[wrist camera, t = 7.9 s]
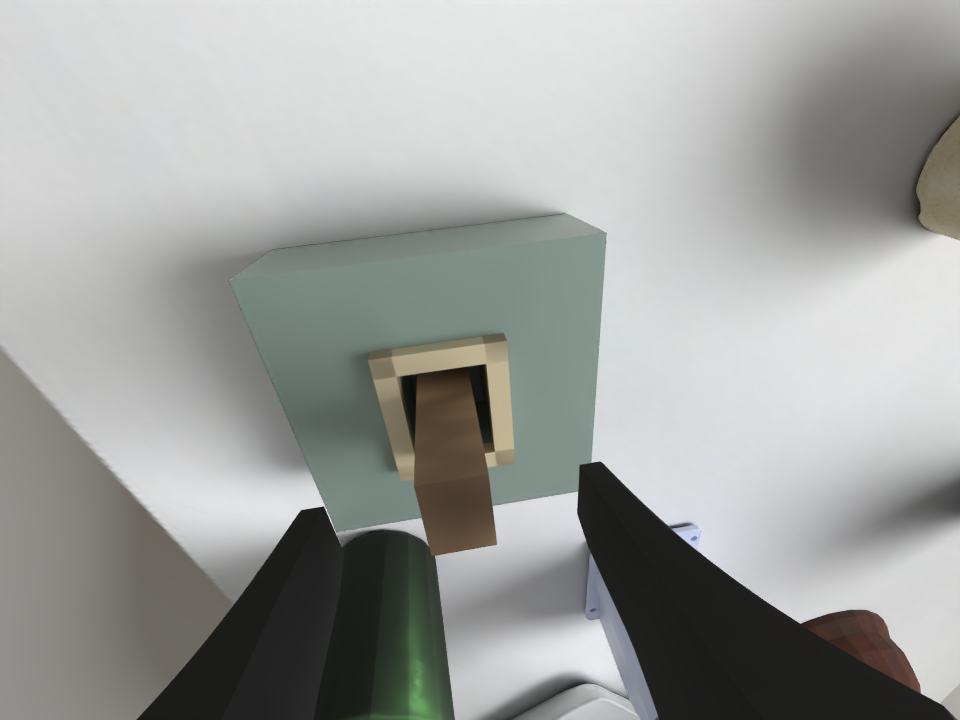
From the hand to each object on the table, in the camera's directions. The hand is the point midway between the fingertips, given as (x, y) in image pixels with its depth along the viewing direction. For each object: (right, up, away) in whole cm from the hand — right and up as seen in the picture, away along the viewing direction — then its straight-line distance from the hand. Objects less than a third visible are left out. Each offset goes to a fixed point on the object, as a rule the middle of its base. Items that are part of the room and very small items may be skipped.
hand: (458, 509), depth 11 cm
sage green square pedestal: (-1, +4, +8) cm, 9 cm away
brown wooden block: (-1, +4, +7) cm, 8 cm away
